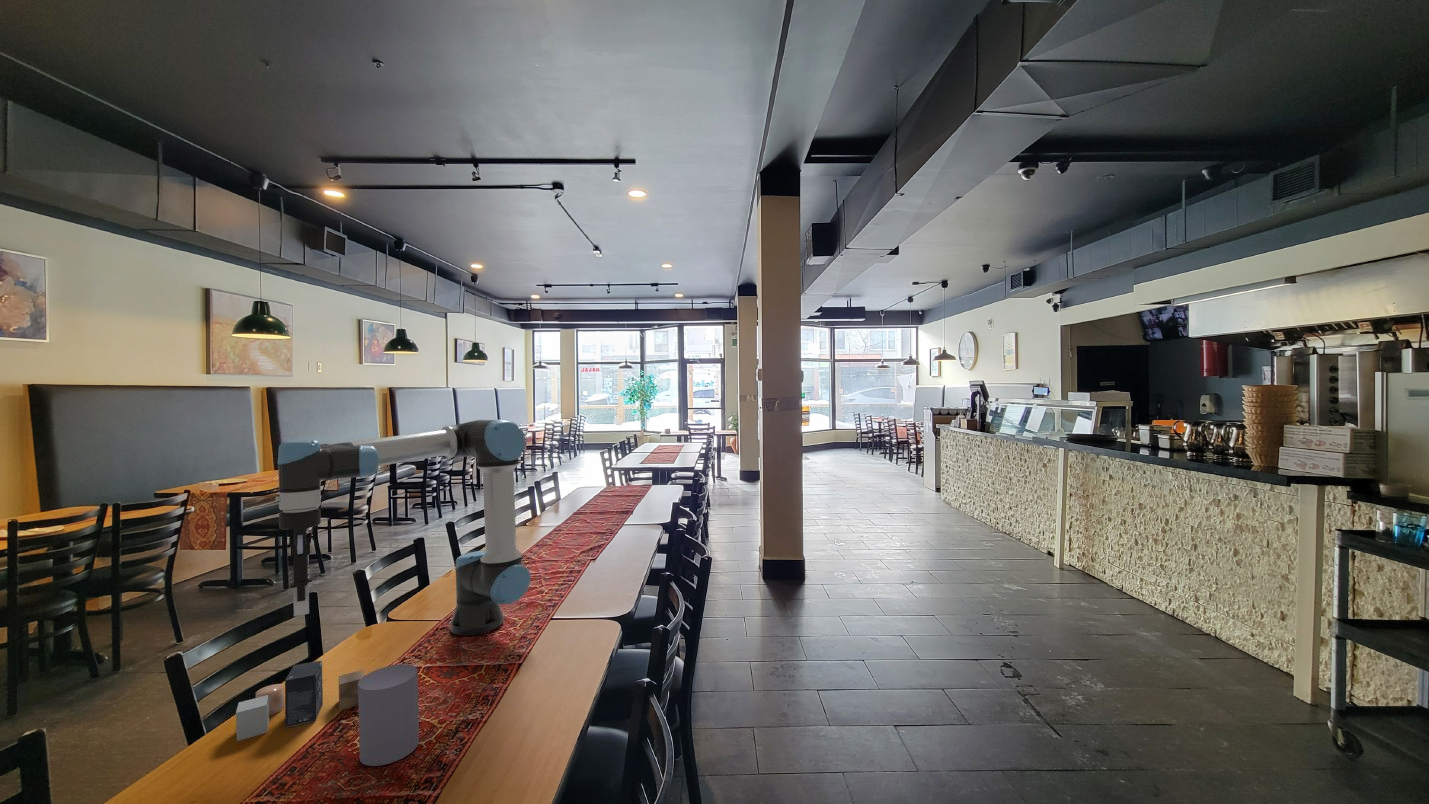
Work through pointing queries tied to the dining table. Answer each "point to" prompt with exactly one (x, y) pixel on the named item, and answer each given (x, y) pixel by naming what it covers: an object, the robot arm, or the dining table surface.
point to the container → (388, 714)
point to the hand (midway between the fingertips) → (301, 613)
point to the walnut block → (349, 689)
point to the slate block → (252, 717)
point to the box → (303, 693)
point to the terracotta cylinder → (273, 697)
